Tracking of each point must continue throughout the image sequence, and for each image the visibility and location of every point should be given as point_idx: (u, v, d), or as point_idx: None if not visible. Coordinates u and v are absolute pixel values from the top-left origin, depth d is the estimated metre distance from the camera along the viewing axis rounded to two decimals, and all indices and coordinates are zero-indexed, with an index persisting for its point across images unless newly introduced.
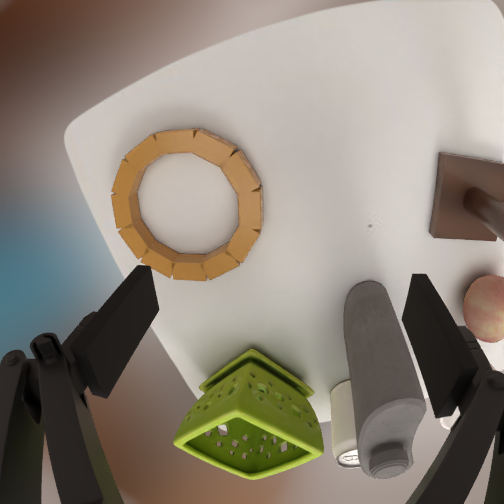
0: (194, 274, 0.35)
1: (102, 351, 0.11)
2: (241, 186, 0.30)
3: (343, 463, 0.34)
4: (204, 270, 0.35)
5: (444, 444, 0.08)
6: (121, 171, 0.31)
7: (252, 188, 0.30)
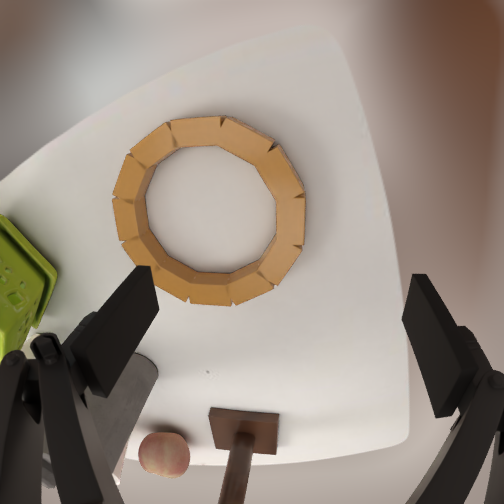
0: (123, 227, 0.27)
1: (102, 351, 0.11)
2: (235, 289, 0.28)
3: None
4: (131, 240, 0.27)
5: (444, 444, 0.08)
6: (255, 139, 0.22)
7: (234, 300, 0.28)
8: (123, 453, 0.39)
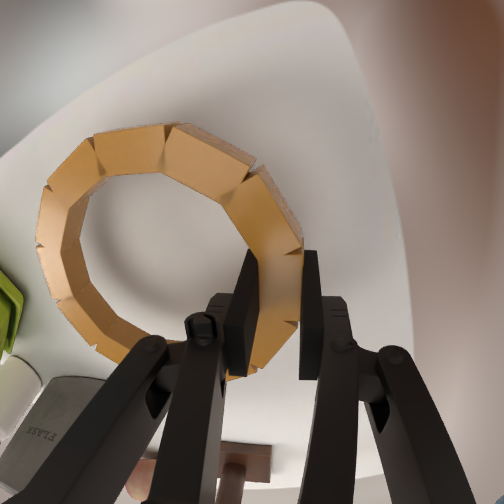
0: (54, 283, 0.18)
1: (248, 328, 0.13)
2: None
3: None
4: (65, 300, 0.19)
5: None
6: (221, 161, 0.14)
7: None
8: None
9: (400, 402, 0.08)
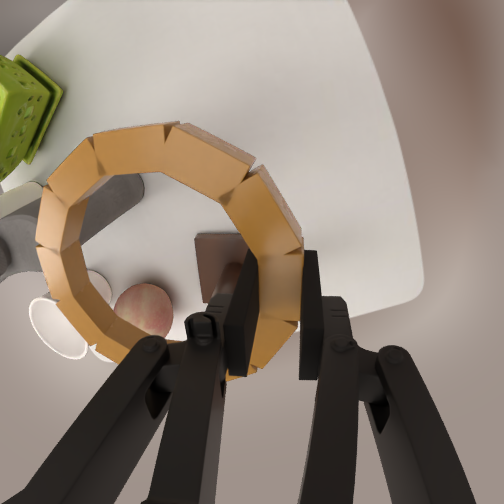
0: (54, 283, 0.18)
1: (248, 328, 0.13)
2: None
3: None
4: (65, 300, 0.19)
5: None
6: (220, 160, 0.14)
7: None
8: None
9: (400, 402, 0.08)
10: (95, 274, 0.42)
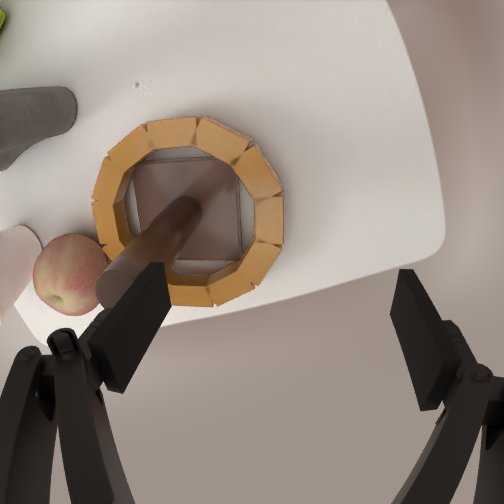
0: (103, 231, 0.26)
1: (118, 346, 0.12)
2: (216, 290, 0.28)
3: None
4: (111, 243, 0.27)
5: (430, 438, 0.08)
6: (231, 138, 0.22)
7: (215, 300, 0.28)
8: (17, 274, 0.27)
9: None
10: (23, 229, 0.30)
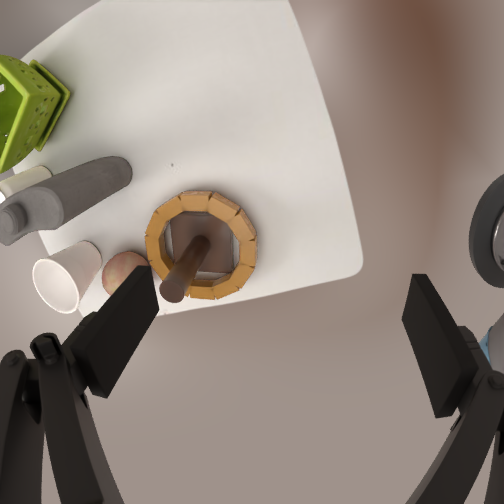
0: (151, 252, 0.47)
1: (102, 351, 0.11)
2: (217, 290, 0.48)
3: None
4: (155, 260, 0.47)
5: (444, 444, 0.08)
6: (227, 209, 0.42)
7: (216, 296, 0.49)
8: (88, 275, 0.47)
9: None
10: (89, 244, 0.51)
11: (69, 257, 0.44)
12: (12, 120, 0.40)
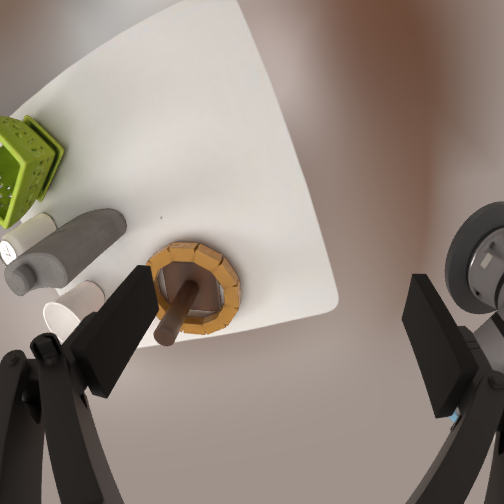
0: None
1: (102, 351, 0.11)
2: (206, 327, 0.53)
3: None
4: None
5: (444, 444, 0.08)
6: (211, 260, 0.48)
7: (206, 331, 0.54)
8: None
9: None
10: (92, 284, 0.56)
11: (75, 299, 0.50)
12: (13, 172, 0.46)
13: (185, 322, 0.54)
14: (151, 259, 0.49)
